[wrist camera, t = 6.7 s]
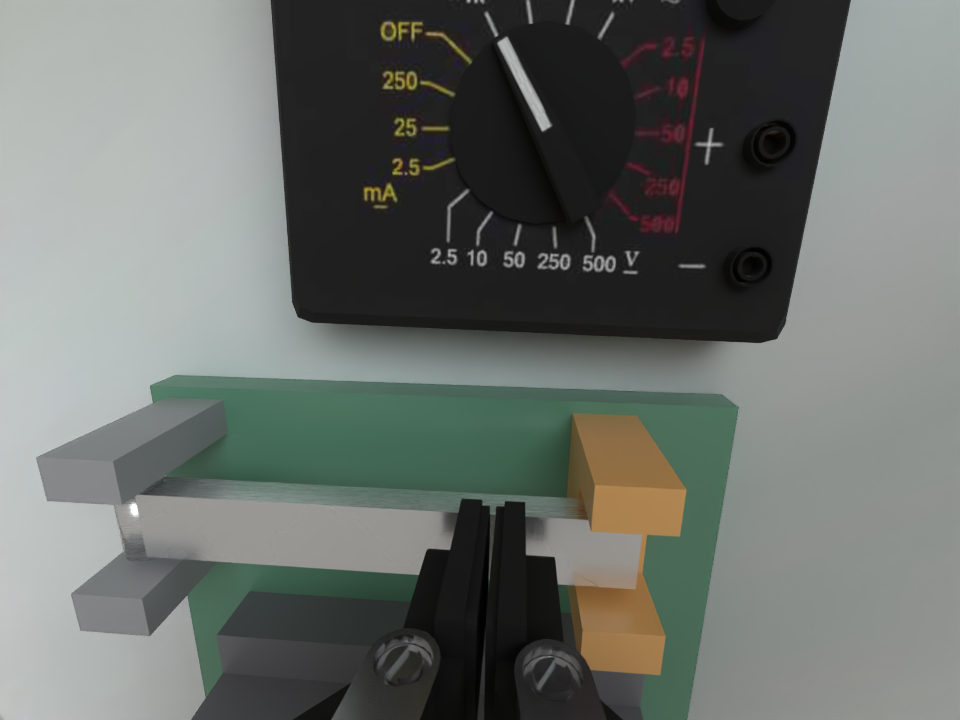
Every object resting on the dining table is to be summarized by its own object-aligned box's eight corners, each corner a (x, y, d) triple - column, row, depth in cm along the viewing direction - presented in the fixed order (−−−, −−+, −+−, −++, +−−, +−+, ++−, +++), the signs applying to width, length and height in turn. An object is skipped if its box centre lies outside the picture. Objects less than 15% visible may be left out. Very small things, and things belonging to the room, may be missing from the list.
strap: (133, 469, 14) (99, 491, 13) (633, 496, 13) (644, 521, 12) (146, 534, 14) (114, 560, 13) (626, 564, 13) (636, 595, 12)
